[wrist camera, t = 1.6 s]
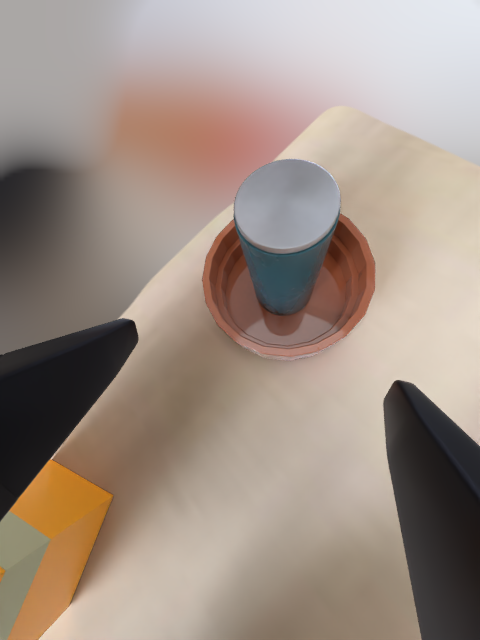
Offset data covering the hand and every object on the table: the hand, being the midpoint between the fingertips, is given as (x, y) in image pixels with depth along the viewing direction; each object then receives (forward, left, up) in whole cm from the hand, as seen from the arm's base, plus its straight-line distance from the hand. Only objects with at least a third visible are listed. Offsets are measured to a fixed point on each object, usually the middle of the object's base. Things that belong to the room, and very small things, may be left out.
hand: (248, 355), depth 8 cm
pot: (+6, +4, -14) cm, 16 cm away
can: (+6, +4, -13) cm, 15 cm away
